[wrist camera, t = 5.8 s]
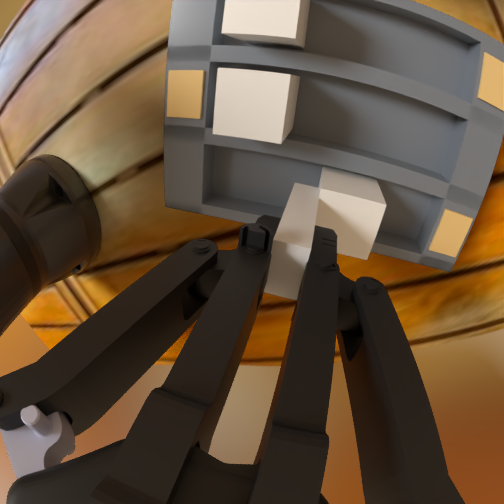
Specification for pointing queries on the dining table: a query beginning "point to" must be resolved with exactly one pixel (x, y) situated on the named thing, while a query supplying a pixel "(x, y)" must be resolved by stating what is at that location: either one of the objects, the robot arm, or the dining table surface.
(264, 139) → the tab
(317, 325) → the robot arm
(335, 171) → the tab
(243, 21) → the tab
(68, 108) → the dining table surface
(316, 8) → the switch bank
